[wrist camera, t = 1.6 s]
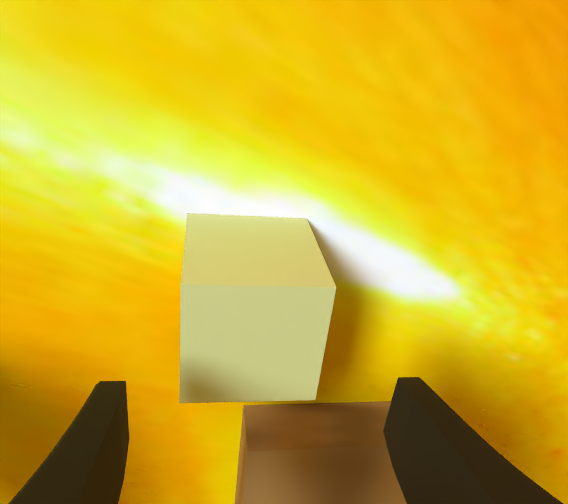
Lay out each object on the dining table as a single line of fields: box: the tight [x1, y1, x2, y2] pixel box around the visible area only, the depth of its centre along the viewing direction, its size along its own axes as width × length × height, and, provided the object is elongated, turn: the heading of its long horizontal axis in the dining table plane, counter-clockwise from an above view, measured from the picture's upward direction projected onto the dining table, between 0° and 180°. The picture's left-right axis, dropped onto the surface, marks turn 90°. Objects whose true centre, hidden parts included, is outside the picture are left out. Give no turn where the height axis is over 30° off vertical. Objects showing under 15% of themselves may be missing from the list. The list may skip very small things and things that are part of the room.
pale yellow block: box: [180, 213, 337, 403], centre depth 17 cm, size 4×4×5 cm
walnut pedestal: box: [235, 401, 407, 504], centre depth 25 cm, size 9×9×3 cm
